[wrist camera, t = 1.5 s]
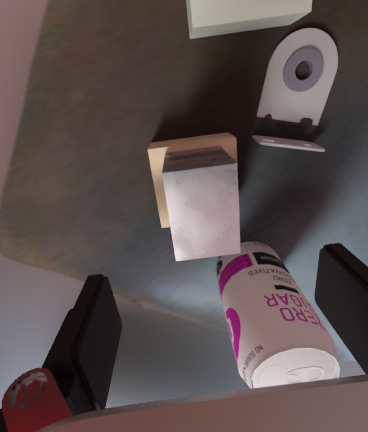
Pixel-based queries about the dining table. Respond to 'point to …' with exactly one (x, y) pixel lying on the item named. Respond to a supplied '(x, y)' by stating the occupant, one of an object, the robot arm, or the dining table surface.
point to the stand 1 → (162, 147)
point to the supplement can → (272, 321)
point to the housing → (202, 202)
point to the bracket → (298, 83)
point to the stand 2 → (242, 15)
